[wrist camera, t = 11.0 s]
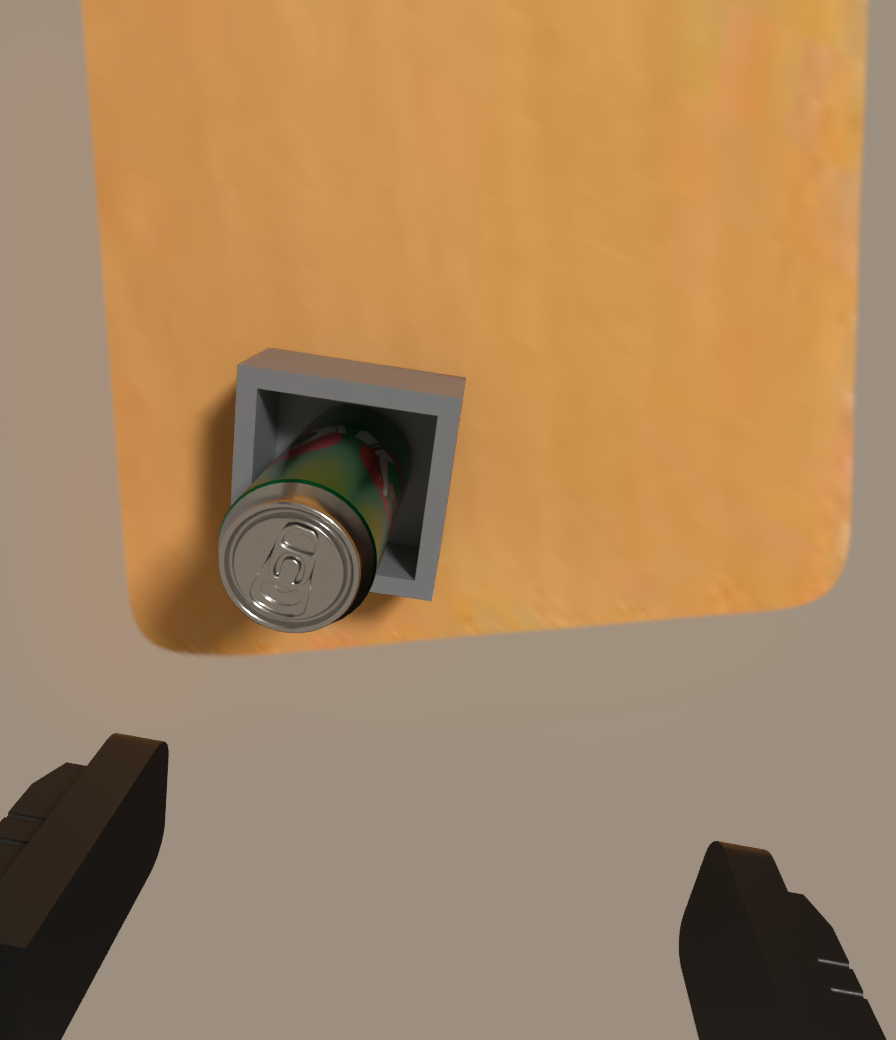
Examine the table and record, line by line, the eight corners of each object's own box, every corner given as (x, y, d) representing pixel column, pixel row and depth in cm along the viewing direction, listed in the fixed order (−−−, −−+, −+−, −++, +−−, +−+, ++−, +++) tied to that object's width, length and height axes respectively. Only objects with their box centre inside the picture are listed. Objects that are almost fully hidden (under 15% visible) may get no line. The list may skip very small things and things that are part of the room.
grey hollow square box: (269, 347, 34) (237, 364, 30) (466, 377, 34) (461, 398, 30) (257, 531, 37) (227, 569, 33) (438, 559, 37) (431, 601, 33)
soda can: (284, 489, 36) (186, 609, 25) (319, 385, 34) (231, 463, 23) (389, 530, 36) (339, 667, 25) (429, 429, 34) (396, 528, 23)
